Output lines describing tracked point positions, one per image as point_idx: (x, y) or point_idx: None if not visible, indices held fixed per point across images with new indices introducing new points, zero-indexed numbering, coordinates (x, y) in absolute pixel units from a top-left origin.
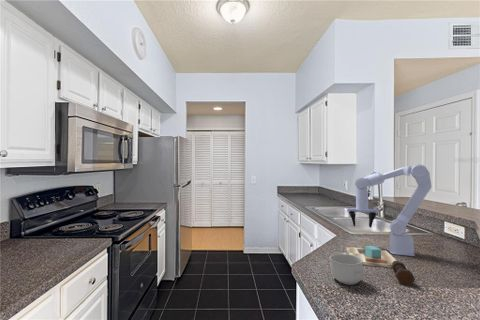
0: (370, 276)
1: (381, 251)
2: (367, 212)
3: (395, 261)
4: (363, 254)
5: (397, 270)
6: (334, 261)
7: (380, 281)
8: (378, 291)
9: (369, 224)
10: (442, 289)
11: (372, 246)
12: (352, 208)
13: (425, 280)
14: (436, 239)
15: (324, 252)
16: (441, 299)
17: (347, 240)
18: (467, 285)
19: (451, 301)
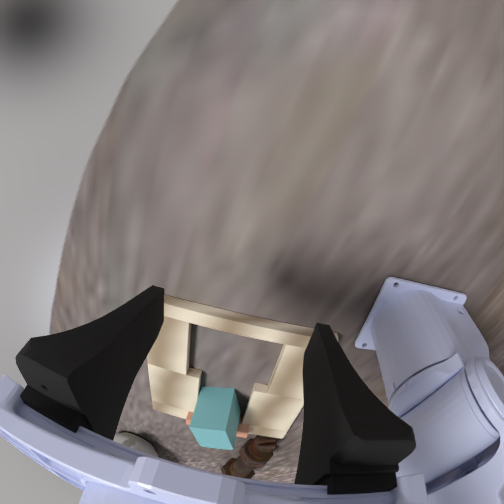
0: (182, 442)
1: (303, 353)
2: (277, 492)
3: (248, 462)
4: (199, 379)
5: (236, 464)
6: None
7: (196, 452)
8: (181, 462)
9: (313, 353)
10: (296, 469)
11: (215, 433)
12: (46, 464)
13: (294, 457)
14: None
15: (74, 323)
16: (266, 479)
17: (204, 91)
18: None
19: (277, 480)
